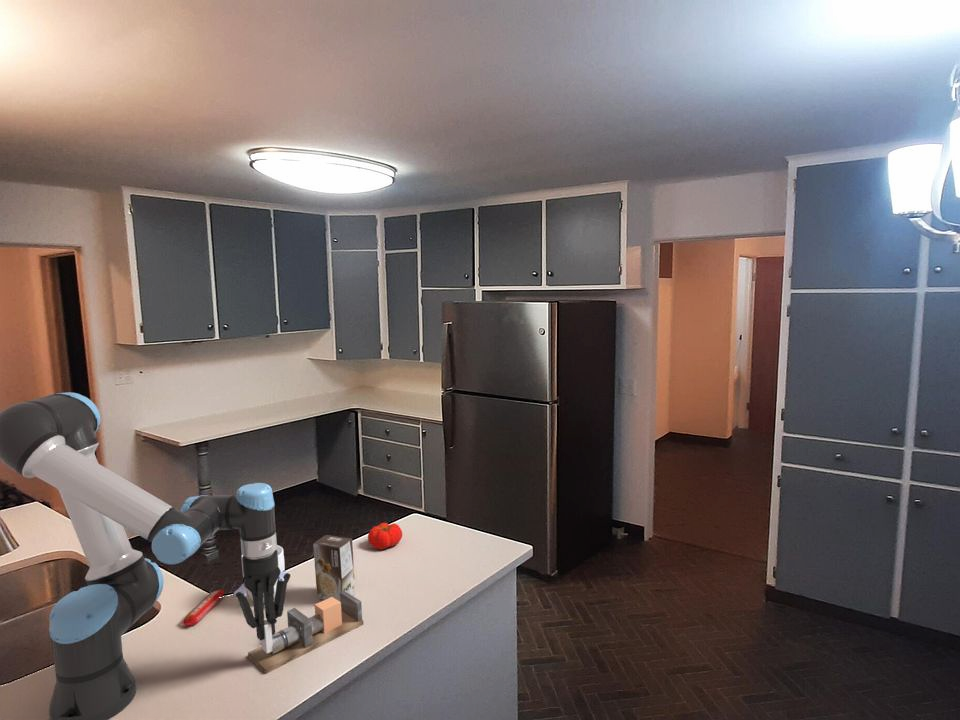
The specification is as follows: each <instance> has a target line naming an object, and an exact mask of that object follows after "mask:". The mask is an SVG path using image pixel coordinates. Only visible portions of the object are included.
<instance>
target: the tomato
mask: <svg viewBox="0 0 960 720" xmlns="http://www.w3.org/2000/svg"><path fill="white" fill-rule="evenodd" d="M402 538H403V532H402V528H401V527H400V526H399V524H397V523H394V522H393V523H391V524H389V523H388V522H382V523H380V524H378V525H376V526H373V527H372V528H371V529H370V531H369V532H368V535H367V540H368V543H369V545H370V546H371V547H372V548H374V549H376V550H384V549H387V548H391V547H394V546H395V545H397V544H398V543H400V541H401V540H402Z"/></svg>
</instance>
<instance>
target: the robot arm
mask: <svg viewBox="0 0 960 720" xmlns="http://www.w3.org/2000/svg"><path fill="white" fill-rule="evenodd" d="M99 425H101V414H100V411H99V409H98V407H97V405H96V404H95V403H94V402H93V401H92V400H91V399H90V398H88V397H87V396H85V395H82V394H80V393H76V392H69V391H68V392H60V393H58V392H57V393H52V394H49V395H45V396H42V397H39V398H35V399H32V400H31V399H30V400H28V401H23V402H18V403H15V404H12V405H10V406H8V407H6V408H4V409H3V410H1V411H0V461H1V463H3V464H4V465H5V466H6V467H7V468H9V469H11V470H12V471H14V472H15V473H17V474H19V475H21V476H22V477H24V478H26V479H32V478H37V479H40V480H42V481H43V482H45V483H47V484H48V485H50V486H52V487H53V488H56V489H57V490H58V492H59V495H60V497H61V500H62V502H63V505H64V507H65V509H66V512H67V514H68V517H69V519H70V522H71V524H72V527H73V530H74V532H75V535H76V537H77V539H78V542H79V544H80V547H81V549H82V552H83V555H84V556H85V559H86V562H87V564H88V567H89V569H88V571H87V573H86V575H85V577H84V580H85V582H86V584H87V586H86V585H85V586H84V587H83V586H82V587H80V588H79V589H78V590H76V591H75V590H74V591H71V592H70V593H68V594H66V595H64V596H63V597H62V598H60V600H58V601H57V602H56V603H55V604H54V605H53V607H52V609H51V610H50V611H51V612H50V613H49V626H48V632H49V633H48V634H49V636H50V641H51V648H52V649H51V650H52V656H53V664H54V665H53V666H54V671H55V672H54V673H55V680H56V681H55V684H54V687H53V692H52V696H51V699H50V703H49V707H48V714H49V720H109V719H111V718H113V717H114V716H116V715H117V714H119V713H120V712H121V711H123V710H124V709H125V708H126V707H127V706H128V705H130V703H132V701H133V699H134V698H135V696H136V693H137V683H136V679H135V676H134V674H133V672H132V670H131V669H130V668H129V666H128V665H129V664H127V662H126V660H125V659H124V658H125V657H124V653H123V643H122V636H123V635H124V634H125V633H126V632H127V631H128V630H129V629H130V628H131V627H132V626H133V625H134V624H135V623H136V622H137V621H139V619H140V618H142V617H143V616H144V615H145V614H146V613H148V612H149V611H150V610H151V608H153V606H154V604H155V603H156V602H157V601H158V599H159V598H160V596H161V595H162V591H163V588H164V582H165V581H164V576H163V575H164V574H163V572H162V570H161V568H160V567H159V565H158V564H157V563H156V562H152V560H151V559H149V558H146V557H144V555H143V552H142V551H139V550H137V549H134V548H133V547H132V545H131V542H130V541H129V540H130V539H129V537H128V536H127V535H128V534H127V533H126V530H125V528H126V529H127V530H129V531H130V532H132V533H134V534H136V535H138V536H140V537H141V538H143V539H145V540H147V541H148V542H150V543H151V551H152V554H154V556H155V557H156V559H157V560H158V561H159V562H161V563H163V564H165V565H177V564H180V563H182V562H184V561H186V559H188V558H190V557H191V556H193V555H194V554H195V553H196V552H197V551H198V550H199V548H200V547H201V546H202V545H203V544H205V542H206V541H208V540H209V539H210V538H211V537H212V536H214V534H215V533H217V532H218V531H225V530H226V531H228V530H231V531H233V530H238V531H239V535H240V536H239V537H240V549H241V557H242V555H243V557H242V558H241V564H242V563H243V570H242V574H243V573H244V578H242V581H241V585H240V586H239V588H238V589H237V588H236V589H233V590H232V595H233V596H234V597H236V599H237V601H238V603H239V606H240V609H241V611H242V614H243V616H244V618H245V622H246V624H247V626H249V627H250V628H252V629H255V631H256V637H257V639H258V640H259V641H260V643H261V644H260V645H261V646H262V649H263V650H264V651H265V652H266V653H270V652H272V651H273V642H272V635H274V634H275V633H276V624H277V621H278V620H277V619H278V618H279V617H282V616H283V612H284V607H285V599H286V594H287V592H286V591H287V586H288V583H289V581H290V578H291V574H290V573H289V572H287V571H286V570H285V571H280V569H279V567H278V553H277V550H276V549H277V545H278V544H277V532H276V531H277V530H276V517H275V506H276V505H275V500H274V495H273V489H272V486H270V485H269V484H267V483H264V482H263V483H262V482H254V483H249V484H244V485H242V486H241V487H239V488H238V489H237V490H236V494H234V495H233V494H230V495H229V494H228V495H225V494H222V495H220V494H218V495H208V494H206V495H205V494H202V495H197V496H196V495H195V496H190V497H188V498H186V499H185V500H184V501H183V503H182V506H181V507H180V510H179V509H177V508H176V507H174V506H172V505H170V504H168V503H166V501H163V500H162V499H160V498H158V497H157V496H155V495H153V494H151V493H150V492H148V491H146V490H145V489H143V488H141V487H140V486H138V485H137V484H134V483H133V482H131V481H129V480H127V479H126V478H124V477H122V476H120V475H119V474H117V473H115V472H114V471H112V470H110V469H108V468H107V467H105V466H103V465H102V464H100V463H99V462H98V458H97V457H96V454H95V453H96V450H97V448H98V446H99V445H100V442H99V440H98V438H97V432H98V430H99ZM277 579H278V581H277ZM276 581H277V587H276V593H275V599H274V595H273V594H274V585H275V583H276ZM246 589H248V590H249V591H250V592H252V596H253V600H252V601H253V602H252V604H253V611H252V608H251V605H250V603H249V600H248V598H247V590H246ZM263 593H264V603H263Z"/></svg>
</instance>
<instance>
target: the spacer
mask: <svg viewBox="0 0 960 720" xmlns="http://www.w3.org/2000/svg"><path fill="white" fill-rule="evenodd" d="M316 614H319V615H320V616H321V617H322V619H323V622H324V629H323V630H322V632H323V633H326V632H328V631H330V630H332V629H334V628H336V627H338V626H340V625H342V614H341V602H340V601H338V600H337V599H335V598H333V597H330V598H328V599H326V600H324V599H323V600H321V601H319V602H318V603H315V604H314V615H316Z"/></svg>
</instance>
